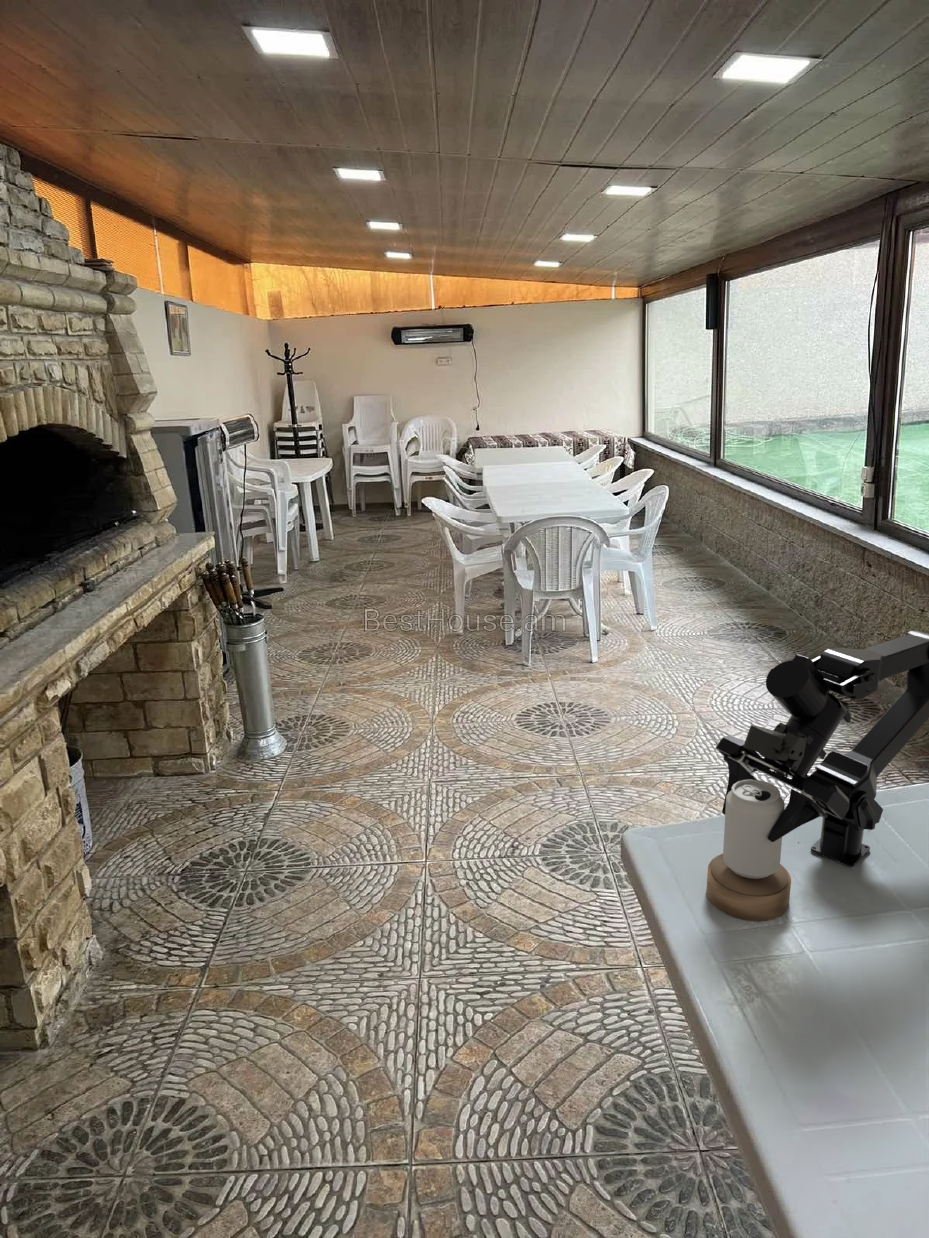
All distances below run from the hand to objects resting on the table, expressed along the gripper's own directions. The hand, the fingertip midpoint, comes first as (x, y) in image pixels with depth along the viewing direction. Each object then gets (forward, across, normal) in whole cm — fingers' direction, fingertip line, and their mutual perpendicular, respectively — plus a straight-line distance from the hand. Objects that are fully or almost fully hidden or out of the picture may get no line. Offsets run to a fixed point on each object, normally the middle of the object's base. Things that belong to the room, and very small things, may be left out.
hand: (746, 827), depth 116 cm
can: (+4, 0, +6) cm, 7 cm away
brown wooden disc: (+7, 0, +9) cm, 11 cm away
